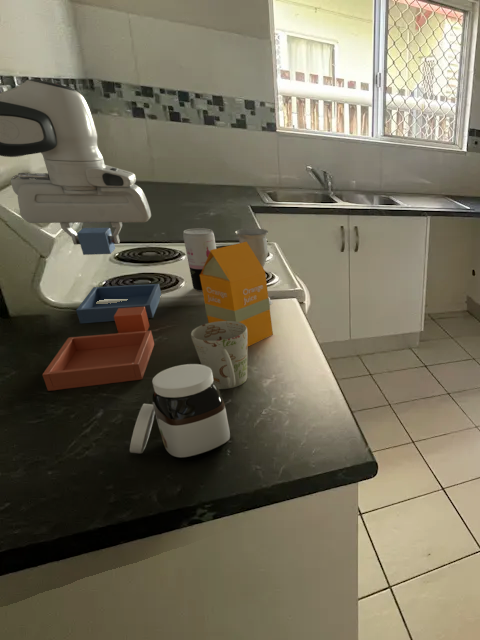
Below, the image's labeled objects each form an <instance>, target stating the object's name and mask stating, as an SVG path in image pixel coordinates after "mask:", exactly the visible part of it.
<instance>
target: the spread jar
mask: <svg viewBox="0 0 480 640" xmlns="http://www.w3.org/2000/svg"><path fill="white" fill-rule="evenodd" d="M151 383H152V387H153V391H154V392H153V394H152V403H142V405H141V407H140V409H139V412H138V415H137V418H136V421H135V425H134V427H133V432H132V435H131V440H130V445H129V453H130V454H143V453H144V451H145V449H146V447H147V444H148V441H149V438H150V436H151V435H150V434H151V432H152V427H153V424H154V420H155V418H156V422H157V426H158V430H159V433H160V437H161V440H162V443H163V446H164V448H165V451H166V453H167V454H168V455H169V456H170V457H171V458H172V459H175V460H179V461H195V460H199V459H202V458H205V457H208V456H210V455H212V454H215V453H216V452H218V451H219V450H221V449H222V448H223V447H225V446H226V445H227V444H228V442H229V441H230V438H231V433H230V425H229V421H228V414H227V409H226V405H225V401H224V399H223V396H222V393H221V391H220V389H218V387H217V386H216V384H215V383H214V382H213V374H212V370H211V369H210V368H209V367H207V366H205V365H201V364H199V363H187V364H179V365H175V366H172V367H169V368H166V369H163V370H161V371H160V372H158V373H157V374H156V375H154V377H153V378H152V381H151Z"/></svg>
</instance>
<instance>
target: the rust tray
mask: <svg viewBox="0 0 480 640" xmlns="http://www.w3.org/2000/svg"><path fill="white" fill-rule="evenodd" d="M154 346H155V340H154V337H153V333H152V330H148V331H139V332H127V333H118V332H117V333H116V332H115V333H105V334H94V335H83V336H70V337H68V338H67V339H66V340H65V341H64V343H63V345H62V346H61V347H60V349H59V350H58V351H57V353H56V354H55V356H54V357H53V359H52V360H51V362H50V363H49V364H48V366H47V367H46V368H45V370H44V372H43V373H42V374H41V375H42V378H43V380H44V383H45V386H46V389H47V391H48V392H50V391H60V390H68V389H74V388H75V389H76V388H83V387H93V386H100V385H107V384H116V383H124V382H125V383H126V382H132V381H140V380H143V378H144V376H145V373H146V370H147V367H148V365H149V361H150V359H151V356H152V352H153V350H154Z"/></svg>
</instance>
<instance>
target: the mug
mask: <svg viewBox="0 0 480 640" xmlns="http://www.w3.org/2000/svg"><path fill="white" fill-rule="evenodd" d="M190 338H191V341H192V343H193V345H194V346H193V347H194V349H195V351H196V355H197V357H198V360H199V362H200V365H205V366H207V367H209V368H210V369H211V370H212V374H213V382H214V383H215V384H216V386H217V387H218V389H219V390H227V389H233V388H237V387H239V386H242V385H243V384H244V383H245V382H246V381H247V380H248V347H247V327H246V326H245V325H244V324H242V323H240V322H235V321H218V322H211V323H208V322H207V323H204V324H201V325H199V326H196V327H195V328H193V329H192V330H191V333H190Z"/></svg>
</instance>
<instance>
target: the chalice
mask: <svg viewBox="0 0 480 640" xmlns="http://www.w3.org/2000/svg"><path fill="white" fill-rule="evenodd" d="M235 234H236V235H237V237H238V241H239V243H243V242H247V243H248V245H249V246H250V248H251V249H252V251H253V253H254V254H255V256H256V257H257V259H258V261H259V262H260V264H261V265H262V267H263V268H264V266H265V264H266V262H267V260H268V259H267V258H268V255H269V248H268V239H267V238H268V237H267V236H268V234H269V230H267V229H264V228H257V227H256V228H255V227H249V228H248V227H247V228H241V229H238V230H236V231H235ZM239 243H238V244H239ZM268 298H269V304H270V306H271V305H272V304H273V301H272V299H271V298H270V296H269V295H268Z"/></svg>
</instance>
